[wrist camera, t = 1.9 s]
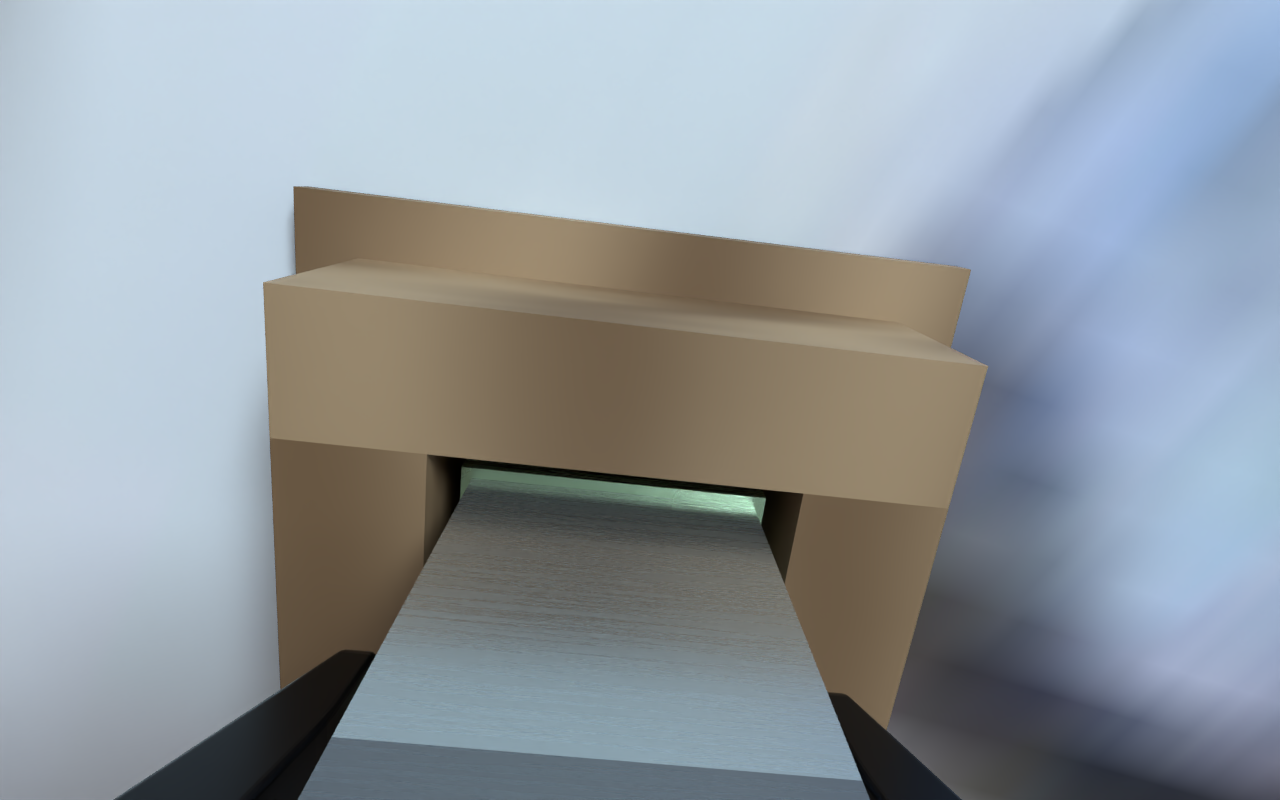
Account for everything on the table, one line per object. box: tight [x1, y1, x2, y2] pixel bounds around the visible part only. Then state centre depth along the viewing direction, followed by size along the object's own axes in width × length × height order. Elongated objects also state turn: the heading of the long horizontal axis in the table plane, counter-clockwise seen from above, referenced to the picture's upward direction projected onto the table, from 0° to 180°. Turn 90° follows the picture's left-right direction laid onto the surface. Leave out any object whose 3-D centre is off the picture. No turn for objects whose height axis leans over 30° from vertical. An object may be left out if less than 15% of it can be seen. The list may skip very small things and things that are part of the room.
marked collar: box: [263, 186, 988, 730], centre depth 11 cm, size 11×11×4 cm
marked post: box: [298, 459, 870, 800], centre depth 9 cm, size 4×4×8 cm
